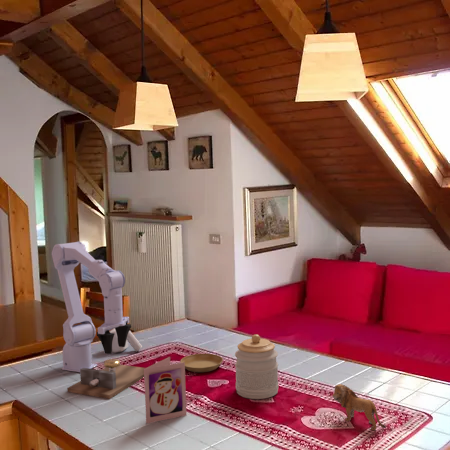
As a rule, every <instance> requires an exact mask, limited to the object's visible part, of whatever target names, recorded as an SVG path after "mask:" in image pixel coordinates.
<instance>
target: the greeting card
mask: <svg viewBox="0 0 450 450" xmlns="http://www.w3.org/2000/svg"><path fill="white" fill-rule="evenodd" d="M144 368H145V369H144V378H143V380H144V399H145V404H144V405H145V420H146V421H145V422H146V423H145V424H150V423H151V424H152V423H154V422H155V423H157V422H160V421H165V420H169V419H175V418H180V417H184V416H187V392H186V390H187V388H186V368H185V362H183V363H180V362H179V363H171V356H168V357H167V358H164V359H162V360H160V361H158V362H156V363H153V364H152V365H149V366H148V367H144Z"/></svg>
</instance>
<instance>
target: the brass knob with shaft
mask: <svg viewBox="0 0 450 450" xmlns="http://www.w3.org/2000/svg"><path fill="white" fill-rule="evenodd" d="M119 365H121V360H120V359H118V358H110V359H106V360H104V362H103V366H104V367H105V368H106V367H107V368H109V371H110V372H116V370H115V367H117V366H119ZM99 383H100V380H99V378H96V379H94V380H92V381H91V382H90V386H91V387H94V386H96V385H97V384H99Z"/></svg>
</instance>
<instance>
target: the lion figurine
mask: <svg viewBox="0 0 450 450" xmlns="http://www.w3.org/2000/svg"><path fill="white" fill-rule="evenodd" d="M332 398H333V400H334V401H337V403H338V404H340V406H341V407H342V408H345V412H346V416H347V417H345V419H344V420H345V421H346V422H350V421H351V419H352V418H354V416H355V412H358V413H364V415H365V416H366V418H367V420H368V423H369V424H372V425H371V427H370V429H371V431H375V430H377V424H376V421H377V423H378V424H379V426H380V427H381V428H383V429H386V428H387V427H386V425H384V424H382V422H381V421H380V418H379V414H378V411H377V408H376V405H375V402H373V401H372V399H364V398H361V397H358V395H357V393H355V391H354V390H352V389H351V388H350V387H348V386H347V385H344V384H342V383H341V384H340V383H339V384H336V385H334V392H333V393H332ZM375 418H376V419H375Z"/></svg>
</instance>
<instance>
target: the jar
mask: <svg viewBox="0 0 450 450" xmlns="http://www.w3.org/2000/svg"><path fill="white" fill-rule="evenodd" d="M236 347H237V349H238V350H237V351H235V353H234V357H235V358H236V362H235V364H234V366H235V380H236V381H235V389H236V394H238V396H240V397H242V398H245V399H250V400H251V399H252V400H262V399H263V400H264V399H268V398H272V397H274V396H276V395H277V394H278V391H279V381H278V379H279V377H278V376H279V374H278V373H279V372H278V371H279V370H278V369H279V368H278V366H279V363H278V361H277V357H278V355H279V352H278V351H277V350H276V349H275V348H276V345H275V344H274V343H273V342H271V341H270V340H269V339H266V338H261V336H260V335H259V334H253V335H252V336H251V338H247V339H245V340H242V341H241V342H240V343H239V344H238V345H237V346H236Z"/></svg>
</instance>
